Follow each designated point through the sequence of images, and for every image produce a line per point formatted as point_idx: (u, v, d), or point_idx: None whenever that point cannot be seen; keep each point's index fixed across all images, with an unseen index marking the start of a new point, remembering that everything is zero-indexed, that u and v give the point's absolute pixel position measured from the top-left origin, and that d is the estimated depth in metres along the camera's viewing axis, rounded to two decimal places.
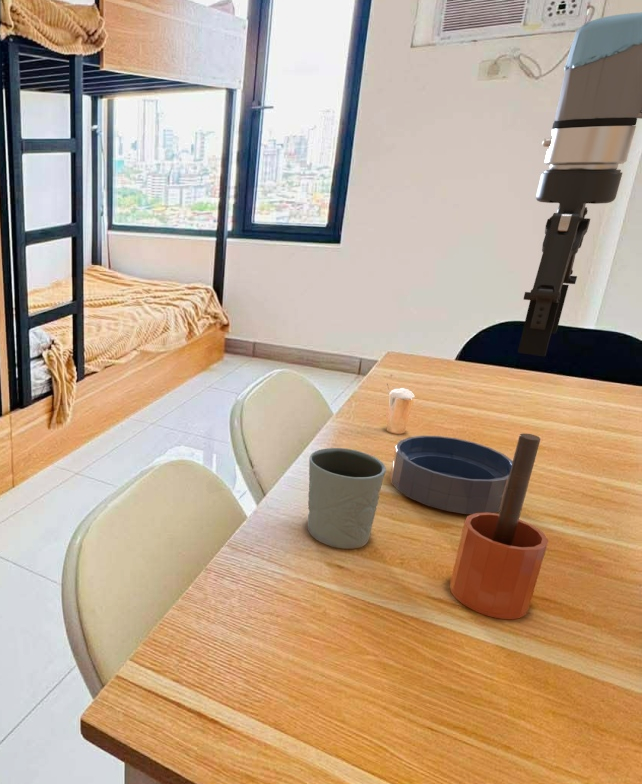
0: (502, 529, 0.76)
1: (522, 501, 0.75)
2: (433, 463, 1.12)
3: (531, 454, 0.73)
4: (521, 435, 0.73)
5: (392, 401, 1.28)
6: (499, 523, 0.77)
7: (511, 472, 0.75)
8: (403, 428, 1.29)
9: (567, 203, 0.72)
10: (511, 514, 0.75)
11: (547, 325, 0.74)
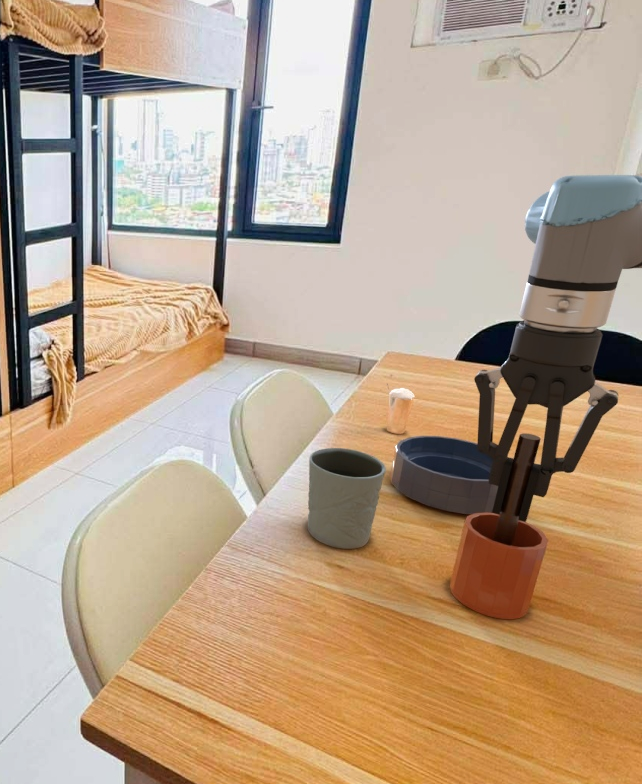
0: (502, 529, 0.76)
1: (522, 501, 0.75)
2: (433, 463, 1.12)
3: (531, 454, 0.73)
4: (521, 435, 0.73)
5: (392, 401, 1.28)
6: (499, 523, 0.77)
7: (511, 472, 0.75)
8: (403, 428, 1.29)
9: (593, 365, 0.67)
10: (511, 514, 0.75)
11: None
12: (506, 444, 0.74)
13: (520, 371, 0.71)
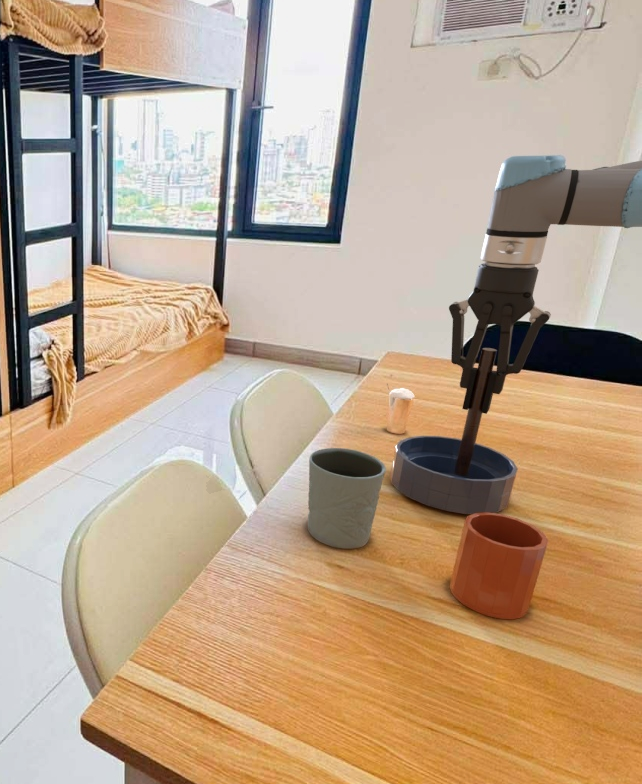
0: (470, 421, 1.03)
1: None
2: (433, 463, 1.12)
3: (490, 362, 0.99)
4: (483, 348, 0.99)
5: (392, 401, 1.28)
6: (468, 417, 1.03)
7: (476, 377, 1.01)
8: (403, 428, 1.29)
9: (532, 292, 0.93)
10: (476, 409, 1.02)
11: None
12: (472, 355, 1.00)
13: (481, 300, 0.97)
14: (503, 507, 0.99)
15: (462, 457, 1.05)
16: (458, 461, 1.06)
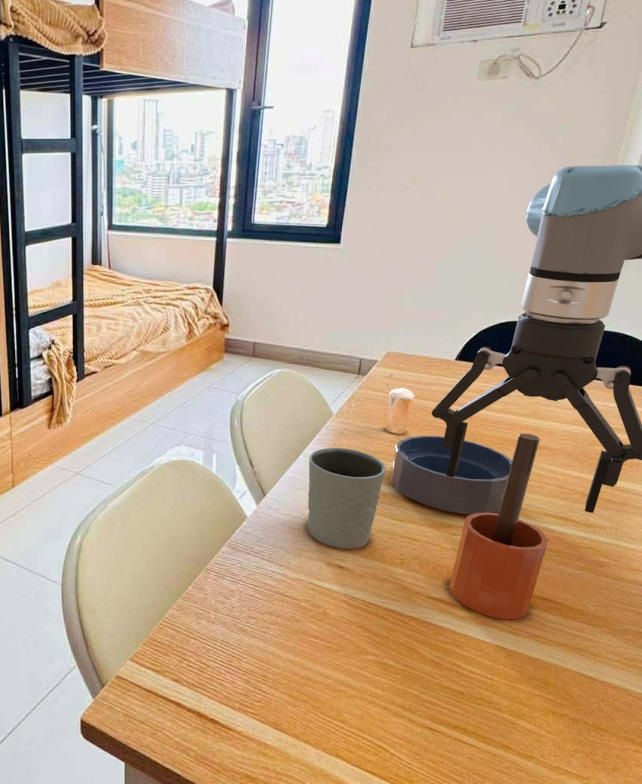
0: (501, 529, 0.76)
1: (521, 501, 0.75)
2: (433, 463, 1.12)
3: (530, 454, 0.72)
4: (520, 435, 0.73)
5: (392, 401, 1.28)
6: (498, 523, 0.77)
7: (510, 472, 0.75)
8: (403, 428, 1.29)
9: (596, 356, 0.67)
10: (510, 514, 0.75)
11: None
12: (467, 414, 0.75)
13: (522, 363, 0.71)
14: None
15: None
16: None
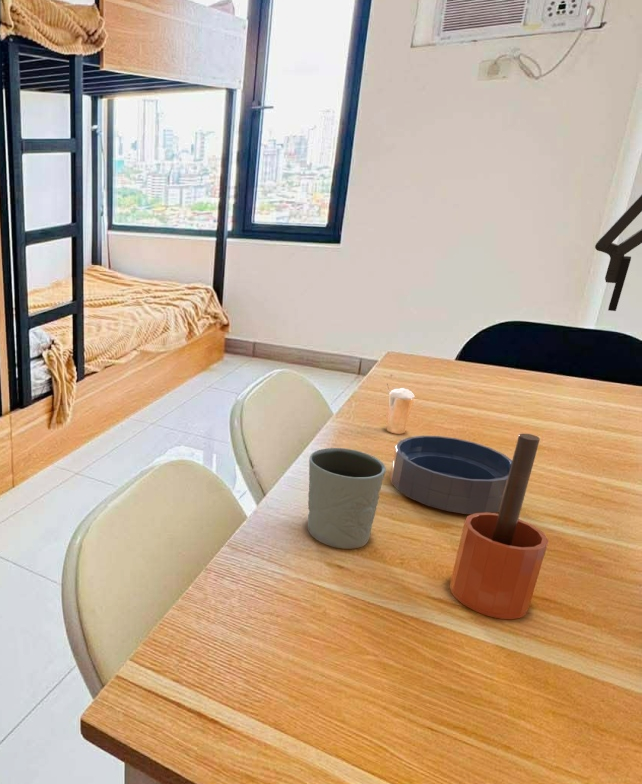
0: (501, 529, 0.76)
1: (521, 501, 0.75)
2: (433, 463, 1.12)
3: (530, 454, 0.72)
4: (520, 435, 0.73)
5: (392, 401, 1.28)
6: (498, 523, 0.77)
7: (510, 472, 0.75)
8: (403, 428, 1.29)
9: None
10: (510, 514, 0.75)
11: None
12: (635, 242, 0.76)
13: None
14: None
15: None
16: None
